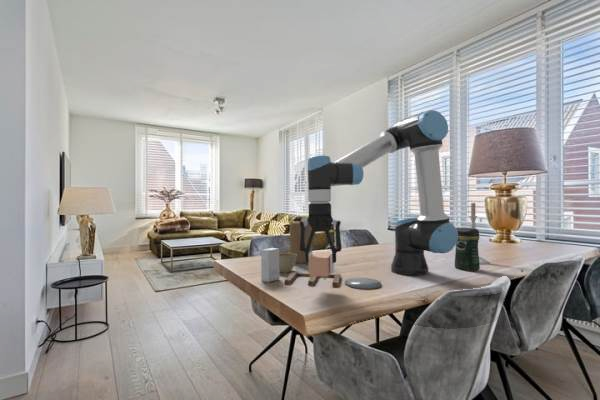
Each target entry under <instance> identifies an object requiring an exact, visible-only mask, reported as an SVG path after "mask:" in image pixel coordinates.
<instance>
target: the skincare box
mask: <svg viewBox="0 0 600 400" xmlns="http://www.w3.org/2000/svg"><path fill="white" fill-rule="evenodd" d="M260 252H261V254H260V255H261V259H260V260H261V262H260V263H261V269H260V270H261V271H260V272H261V273H260V274H261V275H260V276H261V277H260V279H261V281H262V282H266V283H270V282H273V281H277V280H279V279H280V271H279V253H280V248H276V247H269V248H268V247H267V248H264V249H261V250H260Z"/></svg>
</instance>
